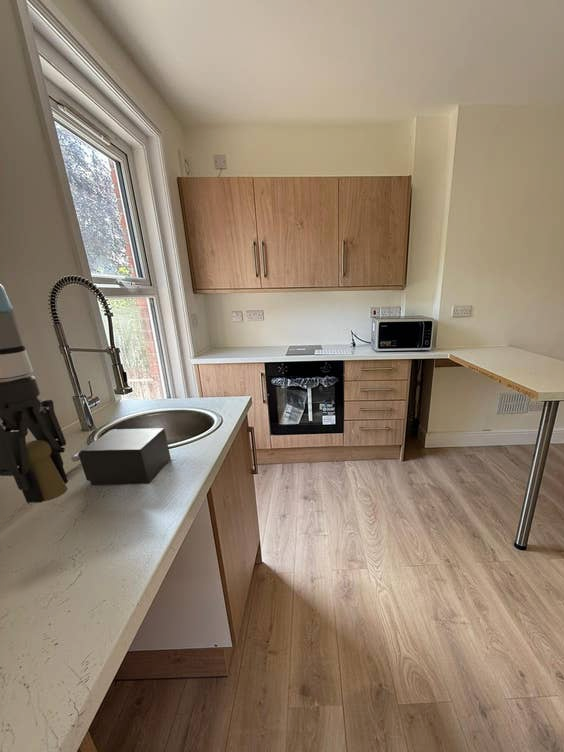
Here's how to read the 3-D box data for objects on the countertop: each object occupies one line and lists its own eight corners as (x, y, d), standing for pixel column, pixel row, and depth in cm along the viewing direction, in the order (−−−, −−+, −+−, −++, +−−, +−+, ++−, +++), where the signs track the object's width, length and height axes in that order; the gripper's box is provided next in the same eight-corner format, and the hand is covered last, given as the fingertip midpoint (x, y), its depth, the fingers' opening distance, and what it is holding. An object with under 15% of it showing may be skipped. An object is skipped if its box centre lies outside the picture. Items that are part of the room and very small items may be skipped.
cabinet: (91, 485, 87) (79, 450, 83) (120, 460, 100) (111, 429, 96) (149, 484, 87) (140, 449, 83) (171, 459, 100) (164, 428, 96)
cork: (67, 495, 68) (50, 444, 64) (28, 505, 65) (7, 453, 61) (67, 482, 73) (51, 434, 69) (31, 491, 70) (11, 441, 66)
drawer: (69, 481, 87) (59, 453, 84) (99, 458, 99) (91, 433, 96) (140, 479, 87) (133, 451, 84) (161, 457, 99) (155, 432, 96)
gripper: (27, 365, 69) (62, 468, 78) (-74, 393, 51) (-14, 521, 60) (65, 365, 69) (96, 468, 78) (-23, 392, 51) (30, 521, 60)
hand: (48, 491), depth 69 cm, fingers closed on cork, 6 cm apart
